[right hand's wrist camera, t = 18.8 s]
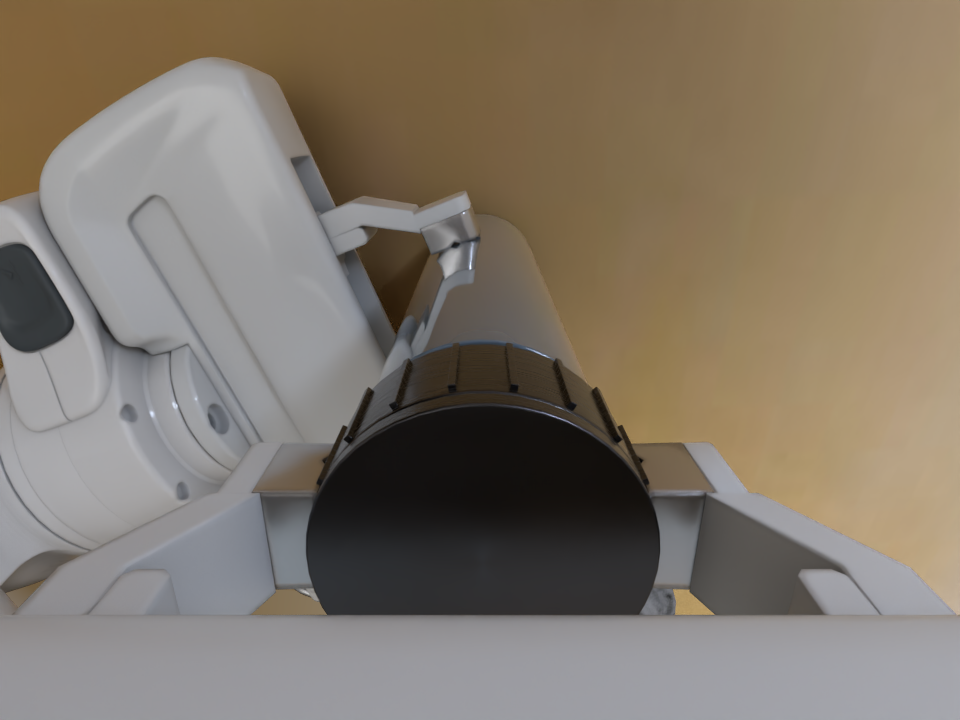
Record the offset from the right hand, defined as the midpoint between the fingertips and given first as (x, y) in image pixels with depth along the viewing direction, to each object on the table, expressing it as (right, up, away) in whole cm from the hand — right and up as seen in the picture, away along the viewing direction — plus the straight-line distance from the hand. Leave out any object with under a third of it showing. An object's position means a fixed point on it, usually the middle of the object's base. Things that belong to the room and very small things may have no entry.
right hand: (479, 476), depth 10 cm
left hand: (+1, +4, +10) cm, 11 cm away
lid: (0, -1, -2) cm, 2 cm away
